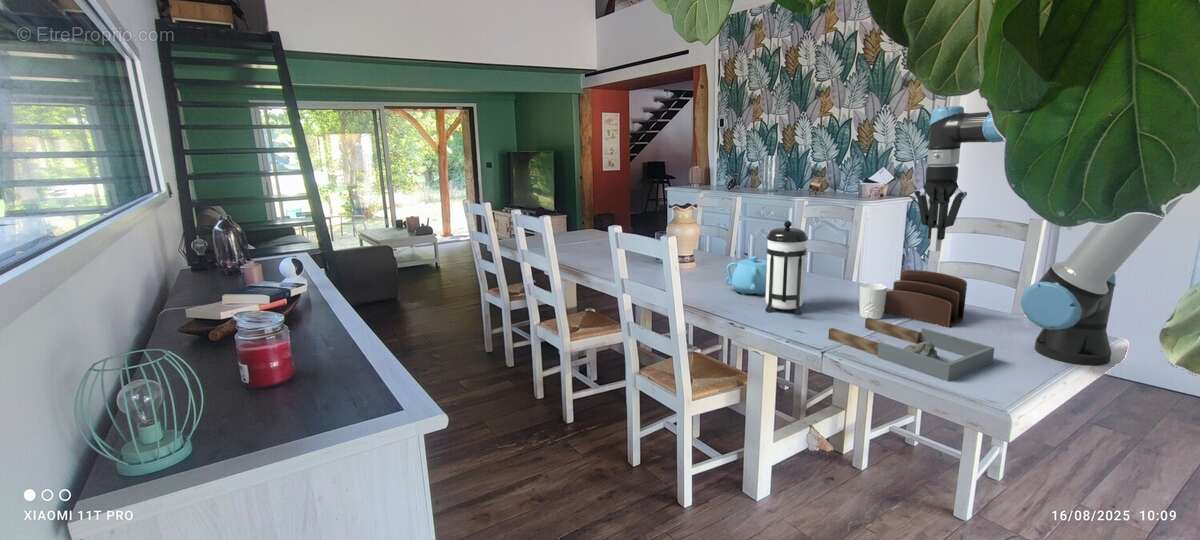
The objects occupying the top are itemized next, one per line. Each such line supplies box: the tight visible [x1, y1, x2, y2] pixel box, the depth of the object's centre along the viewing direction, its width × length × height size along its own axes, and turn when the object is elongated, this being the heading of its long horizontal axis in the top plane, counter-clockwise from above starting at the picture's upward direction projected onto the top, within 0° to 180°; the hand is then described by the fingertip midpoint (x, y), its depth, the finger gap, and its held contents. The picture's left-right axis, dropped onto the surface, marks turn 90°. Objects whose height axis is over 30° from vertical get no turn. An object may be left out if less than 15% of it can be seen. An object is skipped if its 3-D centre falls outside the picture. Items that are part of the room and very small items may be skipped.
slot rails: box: [828, 318, 921, 356], centre depth 158 cm, size 16×18×3 cm
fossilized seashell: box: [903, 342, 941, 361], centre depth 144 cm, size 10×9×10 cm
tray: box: [876, 328, 995, 382], centre depth 144 cm, size 18×20×4 cm
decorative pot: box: [725, 255, 767, 296], centre depth 210 cm, size 16×16×14 cm
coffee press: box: [765, 220, 809, 316], centre depth 185 cm, size 17×16×30 cm
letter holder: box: [883, 269, 968, 328], centre depth 176 cm, size 10×20×14 cm, turn 36°
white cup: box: [858, 282, 888, 320], centre depth 179 cm, size 8×8×10 cm
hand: (935, 250), depth 158 cm, fingers closed
